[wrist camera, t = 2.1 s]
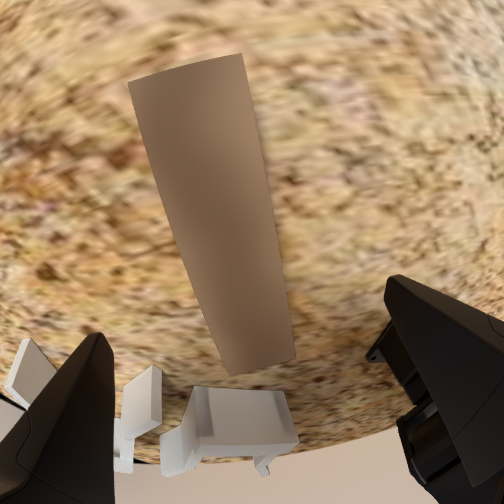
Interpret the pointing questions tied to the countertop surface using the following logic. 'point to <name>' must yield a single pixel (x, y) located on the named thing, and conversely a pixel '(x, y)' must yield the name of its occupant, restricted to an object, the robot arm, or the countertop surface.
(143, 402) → the end cap
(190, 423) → the end cap
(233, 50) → the countertop surface
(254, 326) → the slat
